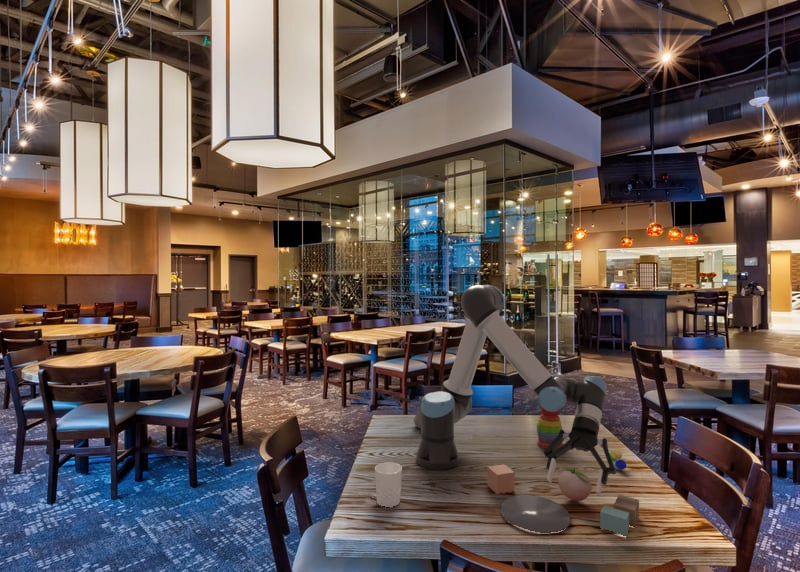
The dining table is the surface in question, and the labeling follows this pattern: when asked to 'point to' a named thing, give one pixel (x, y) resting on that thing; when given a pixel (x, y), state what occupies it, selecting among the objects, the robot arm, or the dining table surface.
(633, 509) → the walnut block
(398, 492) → the white cup
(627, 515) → the teal block
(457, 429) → the dining table surface
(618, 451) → the dice
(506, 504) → the slate plate
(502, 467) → the terracotta block
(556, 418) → the stacking bear
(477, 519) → the dining table surface
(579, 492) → the decorative fruit
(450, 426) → the robot arm
